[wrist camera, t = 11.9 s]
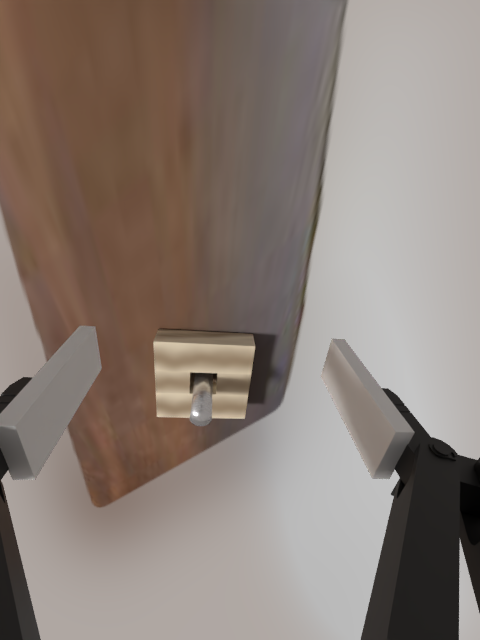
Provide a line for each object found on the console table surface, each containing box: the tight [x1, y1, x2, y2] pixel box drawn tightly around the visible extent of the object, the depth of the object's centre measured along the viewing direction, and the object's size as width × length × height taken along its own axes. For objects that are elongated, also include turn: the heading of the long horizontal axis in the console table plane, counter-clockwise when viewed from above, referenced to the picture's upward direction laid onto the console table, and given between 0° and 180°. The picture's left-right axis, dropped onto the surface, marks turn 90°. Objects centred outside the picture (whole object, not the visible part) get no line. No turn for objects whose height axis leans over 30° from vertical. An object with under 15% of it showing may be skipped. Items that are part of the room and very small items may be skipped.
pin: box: [190, 373, 213, 426], centre depth 46 cm, size 3×3×11 cm
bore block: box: [154, 329, 255, 419], centre depth 50 cm, size 16×16×4 cm
